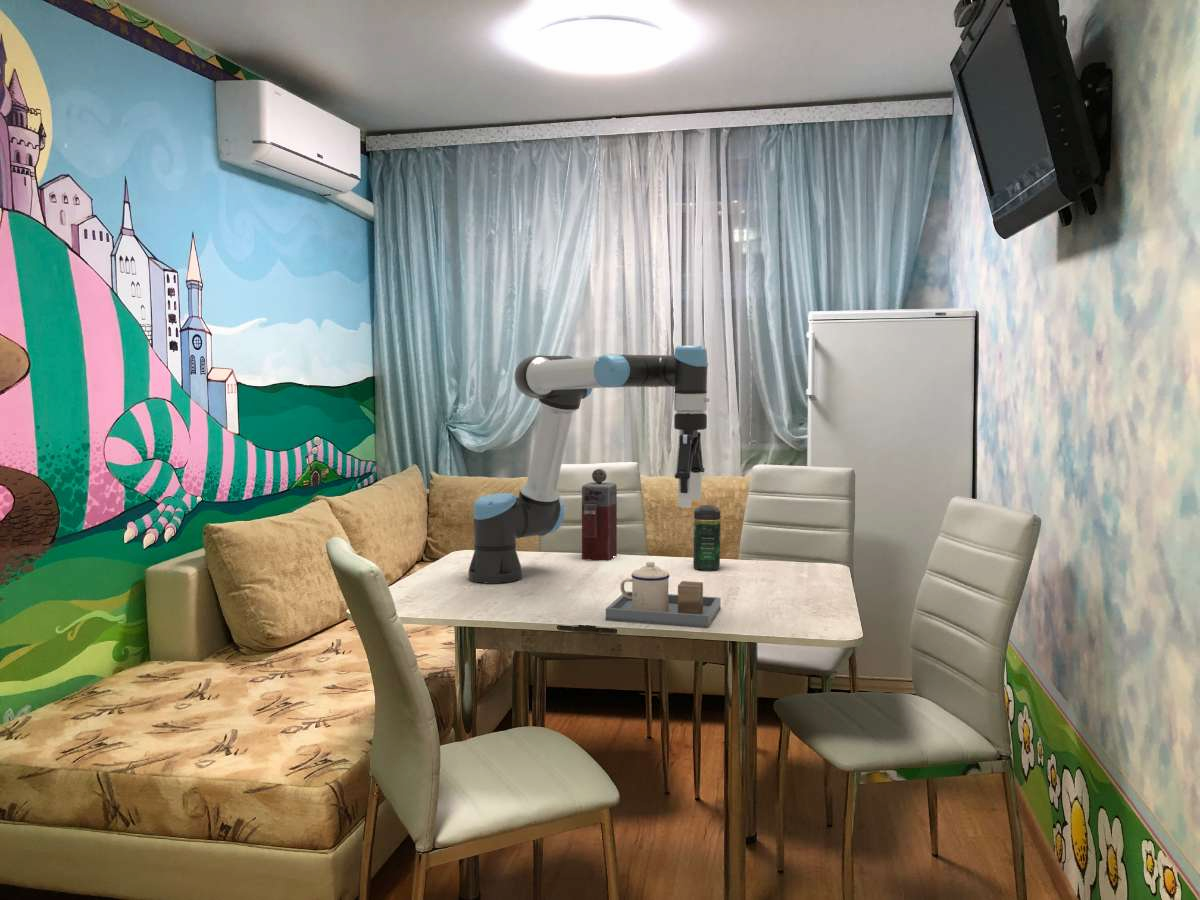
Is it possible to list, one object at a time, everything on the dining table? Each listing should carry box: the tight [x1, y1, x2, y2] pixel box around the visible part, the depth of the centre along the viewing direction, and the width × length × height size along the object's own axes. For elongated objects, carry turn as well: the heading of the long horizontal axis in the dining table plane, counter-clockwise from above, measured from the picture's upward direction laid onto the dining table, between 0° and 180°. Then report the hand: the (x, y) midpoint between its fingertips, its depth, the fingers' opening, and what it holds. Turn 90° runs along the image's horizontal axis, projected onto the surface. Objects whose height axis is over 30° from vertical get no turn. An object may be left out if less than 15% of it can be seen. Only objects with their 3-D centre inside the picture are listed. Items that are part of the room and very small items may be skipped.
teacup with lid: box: [619, 561, 670, 612], centre depth 213 cm, size 12×9×12 cm
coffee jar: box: [692, 504, 722, 571], centre depth 264 cm, size 10×8×19 cm
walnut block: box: [677, 580, 704, 614], centre depth 210 cm, size 5×5×7 cm
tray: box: [605, 590, 721, 628], centre depth 212 cm, size 24×18×3 cm
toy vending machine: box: [581, 468, 618, 561], centre depth 278 cm, size 9×11×28 cm
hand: (690, 503), depth 208 cm, fingers open, 13 cm apart
